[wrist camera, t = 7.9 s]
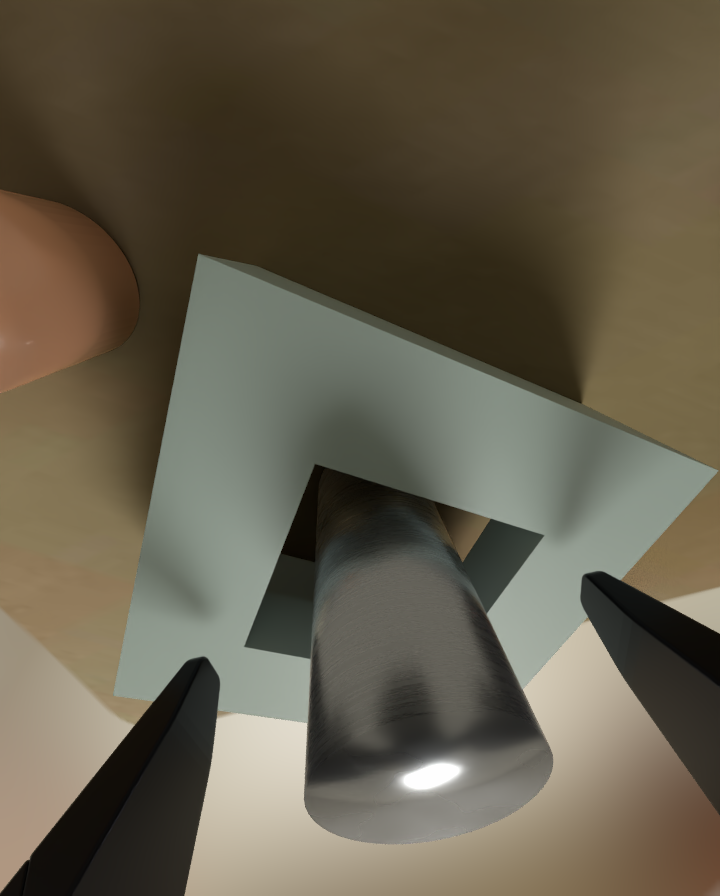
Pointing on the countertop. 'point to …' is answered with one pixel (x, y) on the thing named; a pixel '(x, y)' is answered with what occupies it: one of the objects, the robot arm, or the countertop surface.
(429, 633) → the steel pin
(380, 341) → the slate pin jig
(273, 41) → the countertop surface
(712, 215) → the countertop surface
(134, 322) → the terracotta stub
